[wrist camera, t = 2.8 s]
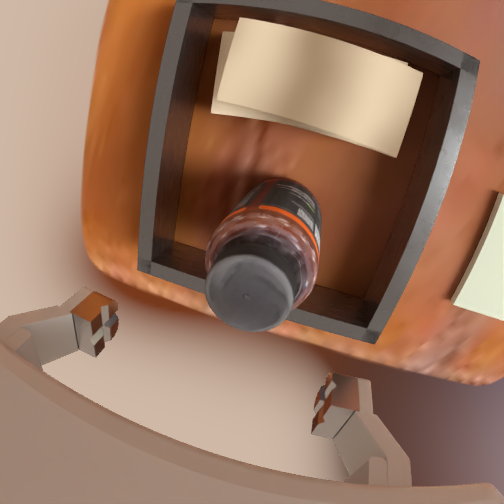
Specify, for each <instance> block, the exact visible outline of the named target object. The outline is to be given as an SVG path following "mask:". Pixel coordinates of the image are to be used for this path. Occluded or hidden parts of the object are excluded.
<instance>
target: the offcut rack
mask: <svg viewBox="0 0 504 504" xmlns="http://www.w3.org/2000/svg"><path fill="white" fill-rule="evenodd" d="M240 17H241V18H248V19H254V20H259V21H265V22H270V23H275V24H280V25H284V26H289V27H293V28H297V29H301V30H305V31H309V32H313V33H317V34H322V35H326V36H330V37H334V38H338V39H341V40H345V41H348V42H352V43H355V44H359V45H362V46H365V47H368V48H371V49H374V50H377V51H380V52H383V53H386V54H389V55H392V56H394V57H397V58H400V59H402V60H405V61H408V62H410V63H413V64H415V65H417V66H420V67H422V68H425V69H427V70H429V71H431V72H434V73H436V74H438V75H440V76H439V81H438V85H437V90H436V94H435V98H434V102H433V106H432V110H431V114H430V118H429V122H428V126H427V129H426V133H425V136H424V140H423V143H422V147H421V150H420V153H419V157H418V160H417V163H416V166H415V169H414V172H413V175H412V178H411V181H410V184H409V187H408V190H407V193H406V196H405V199H404V202H403V204H402V207H401V210H400V213H399V215H398V218H397V221H396V223H395V226H394V228H393V231H392V234H391V236H390V239H389V241H388V244H387V246H386V249H385V251H384V253H383V256H382V258H381V261H380V263H379V265H378V268H377V270H376V272H375V274H374V277H373V279H372V281H371V283H370V286H369V288H368V290H367V292H366V294H365V297H364V299H362V298H359V297H355V296H352V295H348V294H345V293H342V292H338V291H335V290H331V289H328V288H325V287H321V286H318V285H314V287H313V289H312V291H311V292H310V294H309V295H308V296H307V298H306V299H305V300H304V301H303V302H302V303H301V304H299V305H298V306H297V307H296V308H294V309H292V310H291V312H290V313H289V315H288V317H287V318H286V320H289V321H292V322H296V323H299V324H302V325H306V326H309V327H313V328H316V329H320V330H323V331H327V332H330V333H334V334H338V335H341V336H345V337H349V338H352V339H356V340H360V341H364V342H368V343H371V344H375V343H376V341H377V340H378V338H379V336H380V334H381V333H382V331H383V329H384V327H385V325H386V324H387V322H388V320H389V318H390V316H391V314H392V313H393V311H394V309H395V307H396V305H397V303H398V301H399V299H400V297H401V295H402V293H403V291H404V289H405V287H406V285H407V283H408V281H409V279H410V277H411V275H412V273H413V271H414V269H415V266H416V264H417V262H418V260H419V258H420V255H421V253H422V251H423V249H424V246H425V244H426V242H427V239H428V237H429V235H430V232H431V230H432V227H433V225H434V222H435V220H436V217H437V215H438V212H439V209H440V207H441V204H442V201H443V199H444V196H445V193H446V190H447V188H448V185H449V182H450V179H451V176H452V173H453V170H454V167H455V163H456V160H457V157H458V154H459V150H460V147H461V143H462V140H463V136H464V133H465V129H466V125H467V121H468V117H469V113H470V109H471V105H472V100H473V95H474V91H475V86H476V81H477V75H478V70H479V64H480V61H479V60H478V59H476V58H474V57H472V56H470V55H468V54H466V53H465V52H463V51H461V50H459V49H457V48H455V47H453V46H451V45H449V44H447V43H444V42H442V41H440V40H438V39H436V38H434V37H431V36H429V35H427V34H424V33H422V32H420V31H417V30H415V29H412V28H410V27H407V26H405V25H402V24H399V23H396V22H394V21H391V20H388V19H385V18H382V17H379V16H376V15H373V14H370V13H366V12H363V11H360V10H356V9H353V8H349V7H345V6H341V5H337V4H333V3H329V2H324V1H320V0H176V4H175V8H174V11H173V15H172V19H171V23H170V27H169V31H168V35H167V39H166V43H165V48H164V52H163V57H162V61H161V66H160V71H159V76H158V81H157V86H156V92H155V97H154V103H153V109H152V115H151V122H150V128H149V135H148V143H147V150H146V159H145V167H144V176H143V186H142V197H141V210H140V224H139V242H138V267H137V270H139V271H141V272H144V273H147V274H150V275H152V276H155V277H158V278H161V279H164V280H166V281H169V282H172V283H175V284H178V285H181V286H183V287H186V288H189V289H192V290H195V291H198V292H201V293H204V294H205V281H206V277H207V271H206V264H205V256H206V251H203V250H200V249H197V248H194V247H191V246H187V245H184V244H181V243H178V242H175V241H174V235H175V226H176V218H177V210H178V202H179V195H180V188H181V181H182V174H183V167H184V161H185V155H186V149H187V143H188V137H189V131H190V126H191V120H192V115H193V109H194V104H195V99H196V94H197V89H198V84H199V80H200V75H201V70H202V66H203V61H204V57H205V53H206V48H207V44H208V40H209V36H210V32H211V28H212V24H213V20H214V18H219V19H231V20H239V18H240Z"/></svg>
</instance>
